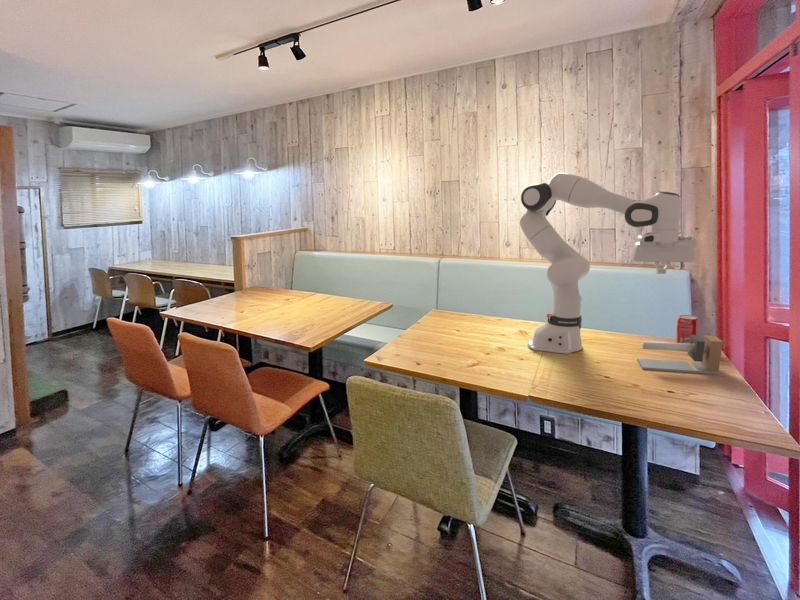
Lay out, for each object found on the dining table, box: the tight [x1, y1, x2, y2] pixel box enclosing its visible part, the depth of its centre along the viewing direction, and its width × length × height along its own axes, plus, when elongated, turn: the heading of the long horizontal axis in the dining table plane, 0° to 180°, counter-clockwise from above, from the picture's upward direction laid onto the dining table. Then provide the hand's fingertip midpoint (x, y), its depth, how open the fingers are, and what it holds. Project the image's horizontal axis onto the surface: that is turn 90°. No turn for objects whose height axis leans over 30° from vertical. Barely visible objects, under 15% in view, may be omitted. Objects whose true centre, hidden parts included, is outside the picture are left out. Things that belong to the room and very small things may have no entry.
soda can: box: [674, 314, 699, 343], centre depth 185 cm, size 7×7×13 cm
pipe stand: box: [636, 334, 724, 376], centre depth 165 cm, size 25×9×12 cm, turn 73°
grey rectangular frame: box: [687, 334, 705, 363], centre depth 163 cm, size 2×8×8 cm, turn 164°
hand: (661, 273), depth 168 cm, fingers closed
